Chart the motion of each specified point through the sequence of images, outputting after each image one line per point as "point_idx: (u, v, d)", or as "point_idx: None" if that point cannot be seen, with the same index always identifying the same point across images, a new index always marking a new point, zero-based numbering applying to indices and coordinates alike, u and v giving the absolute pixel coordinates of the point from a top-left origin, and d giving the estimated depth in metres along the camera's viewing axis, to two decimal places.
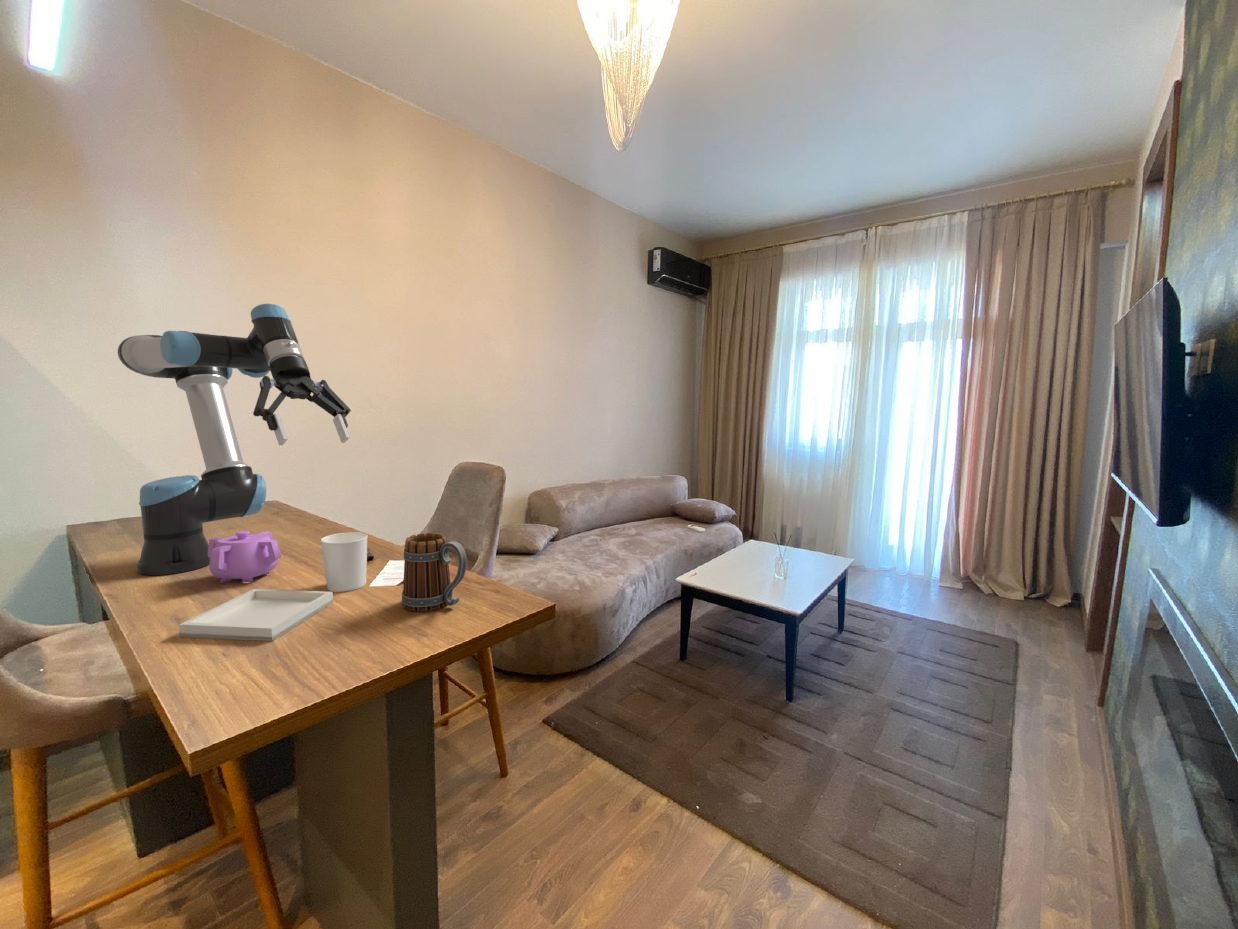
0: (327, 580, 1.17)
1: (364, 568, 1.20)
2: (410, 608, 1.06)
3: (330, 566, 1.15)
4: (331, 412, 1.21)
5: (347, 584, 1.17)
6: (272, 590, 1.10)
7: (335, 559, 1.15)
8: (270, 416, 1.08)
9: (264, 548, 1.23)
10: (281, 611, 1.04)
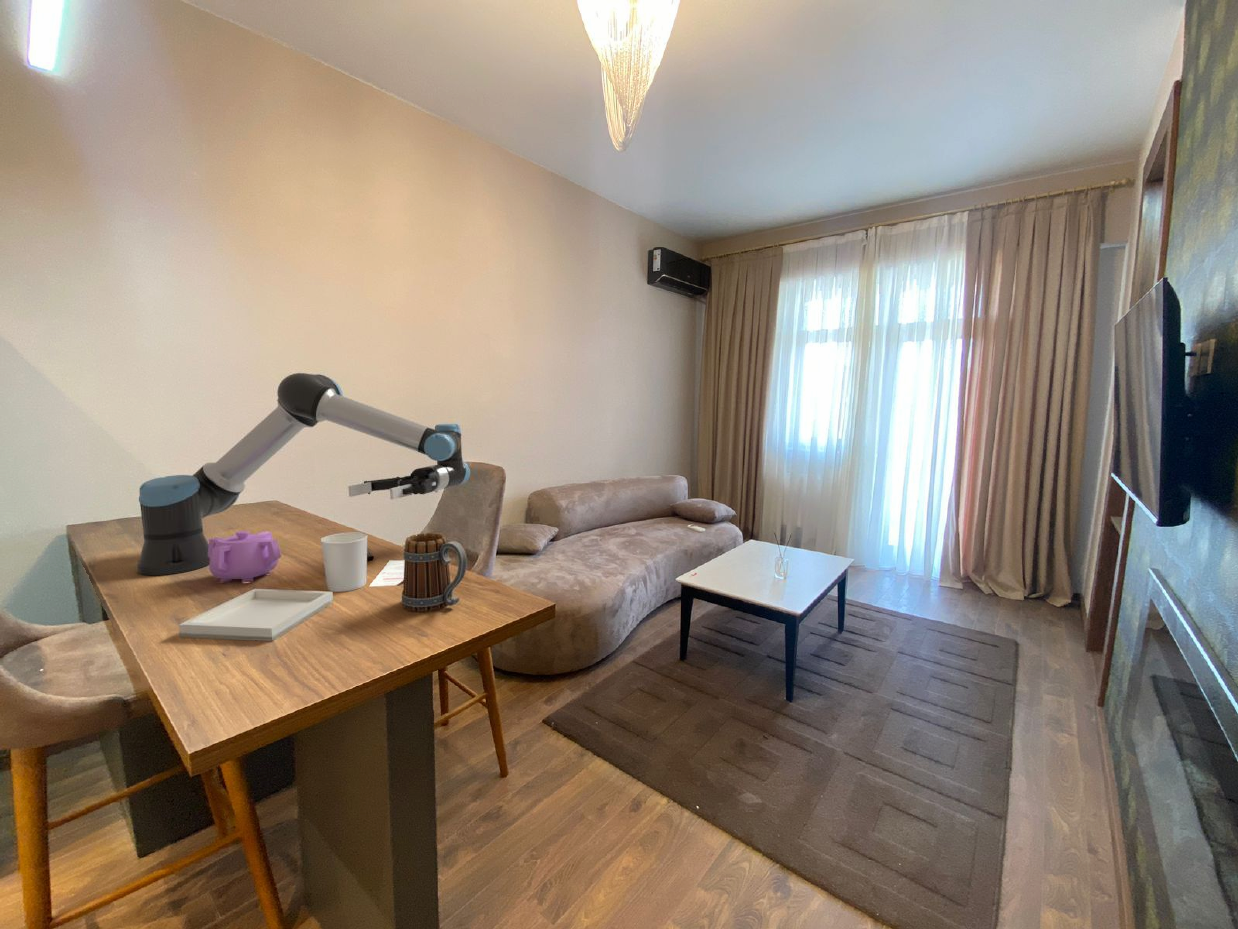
0: (327, 580, 1.17)
1: (364, 568, 1.20)
2: (410, 608, 1.06)
3: (330, 566, 1.15)
4: (376, 484, 1.35)
5: (347, 584, 1.17)
6: (272, 590, 1.10)
7: (335, 559, 1.15)
8: (412, 492, 1.29)
9: (264, 548, 1.23)
10: (281, 611, 1.04)
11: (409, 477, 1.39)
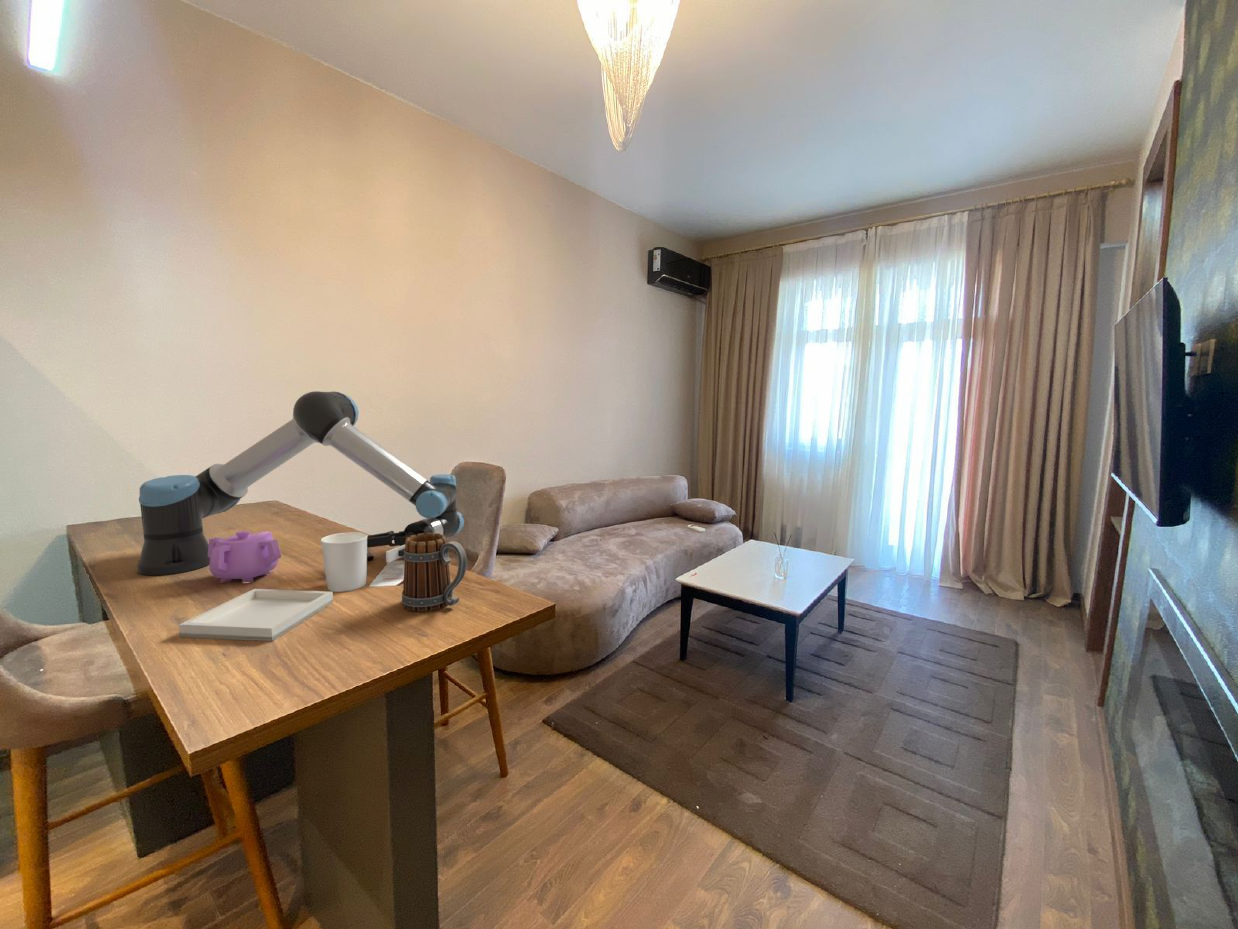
0: (327, 580, 1.17)
1: (364, 568, 1.20)
2: (410, 608, 1.06)
3: (330, 566, 1.15)
4: (370, 541, 1.34)
5: (347, 584, 1.17)
6: (272, 590, 1.10)
7: (335, 559, 1.15)
8: None
9: (264, 548, 1.23)
10: (281, 611, 1.04)
11: (404, 533, 1.38)
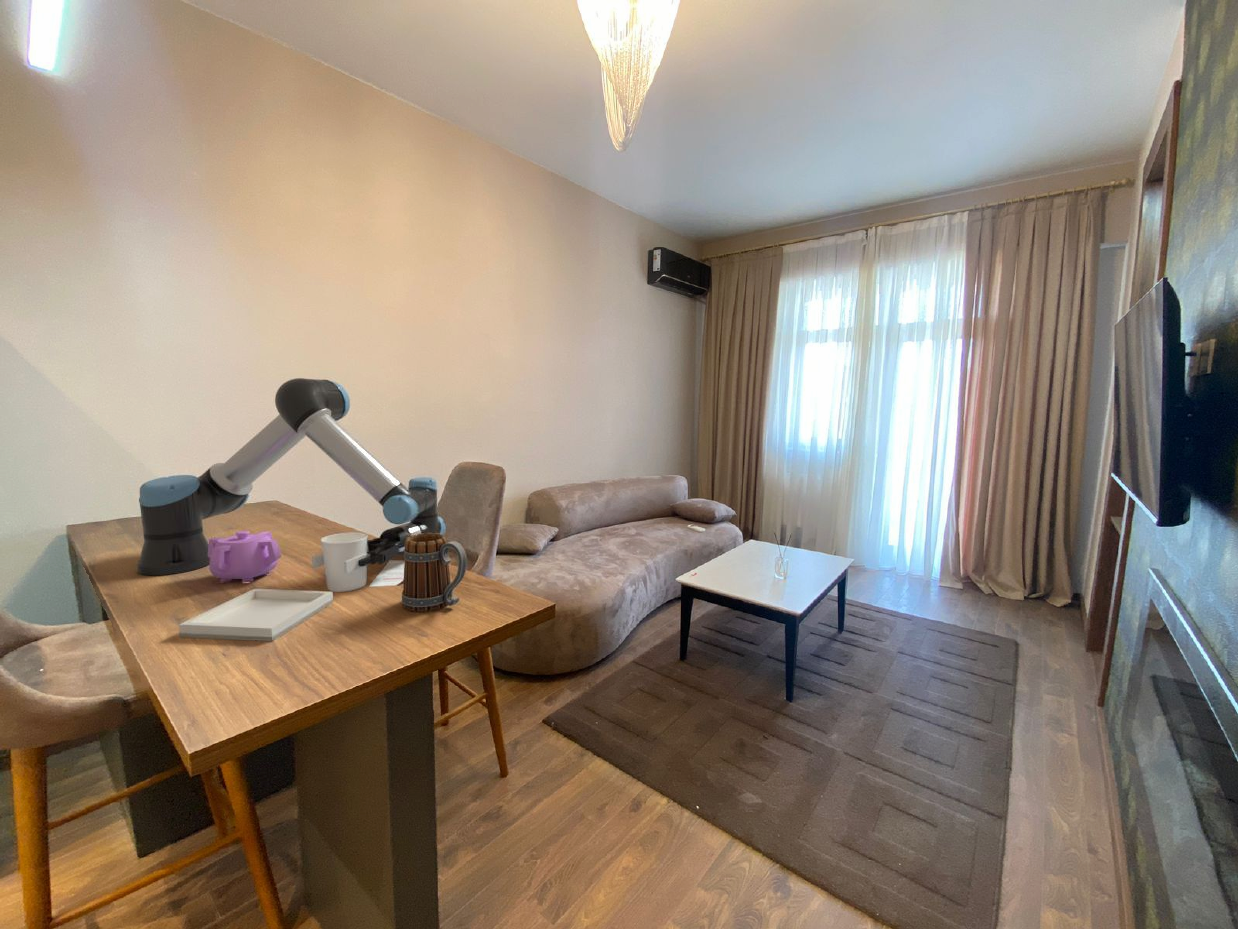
0: (327, 580, 1.17)
1: (364, 568, 1.20)
2: (410, 608, 1.06)
3: (330, 566, 1.15)
4: None
5: (347, 584, 1.17)
6: (272, 590, 1.10)
7: (335, 559, 1.15)
8: None
9: (264, 548, 1.23)
10: (281, 611, 1.04)
11: (379, 540, 1.30)
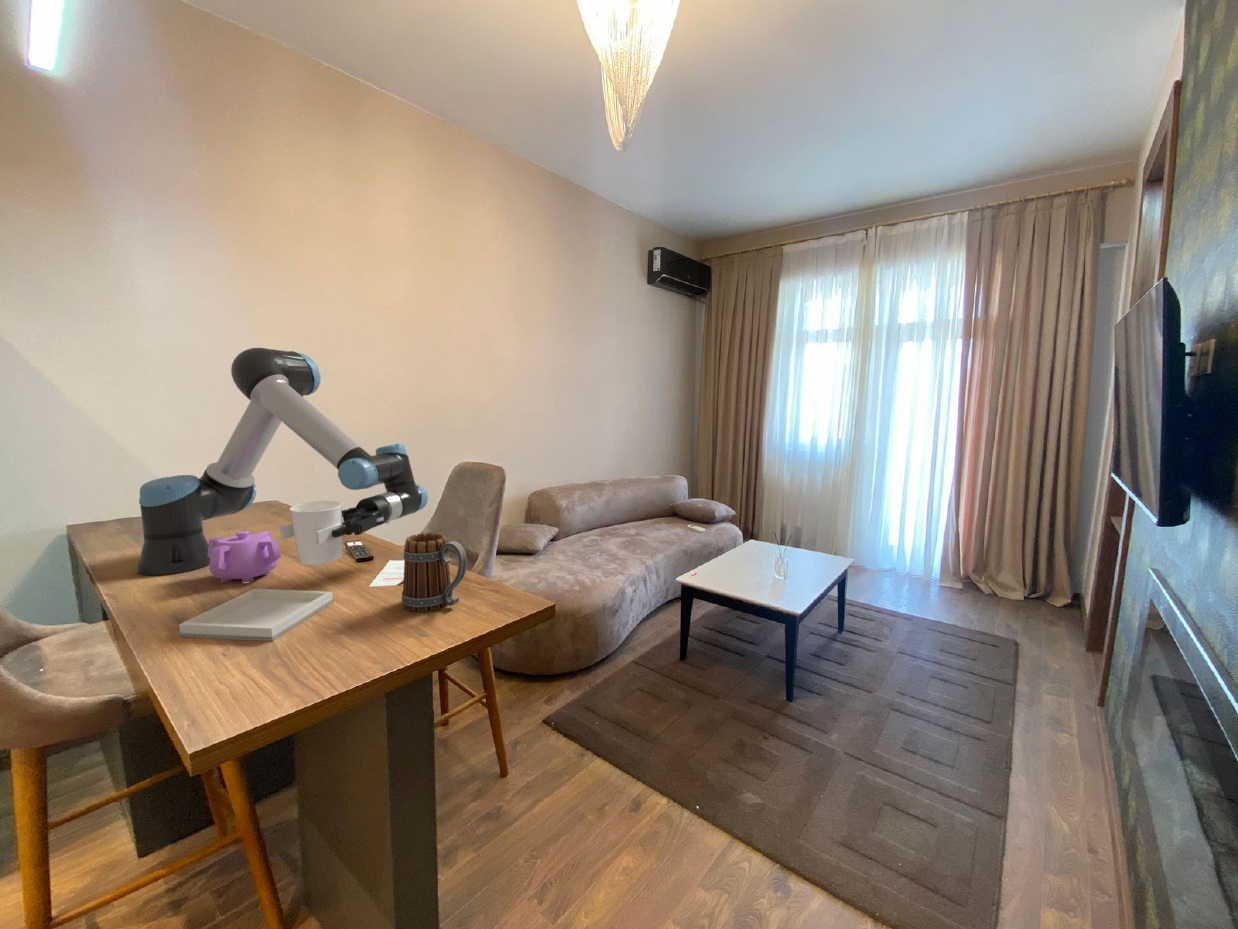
0: (298, 552, 1.07)
1: (339, 539, 1.11)
2: (410, 608, 1.06)
3: (301, 537, 1.06)
4: None
5: (320, 556, 1.07)
6: (272, 590, 1.10)
7: (306, 529, 1.05)
8: None
9: (264, 548, 1.23)
10: (281, 611, 1.04)
11: (355, 509, 1.21)
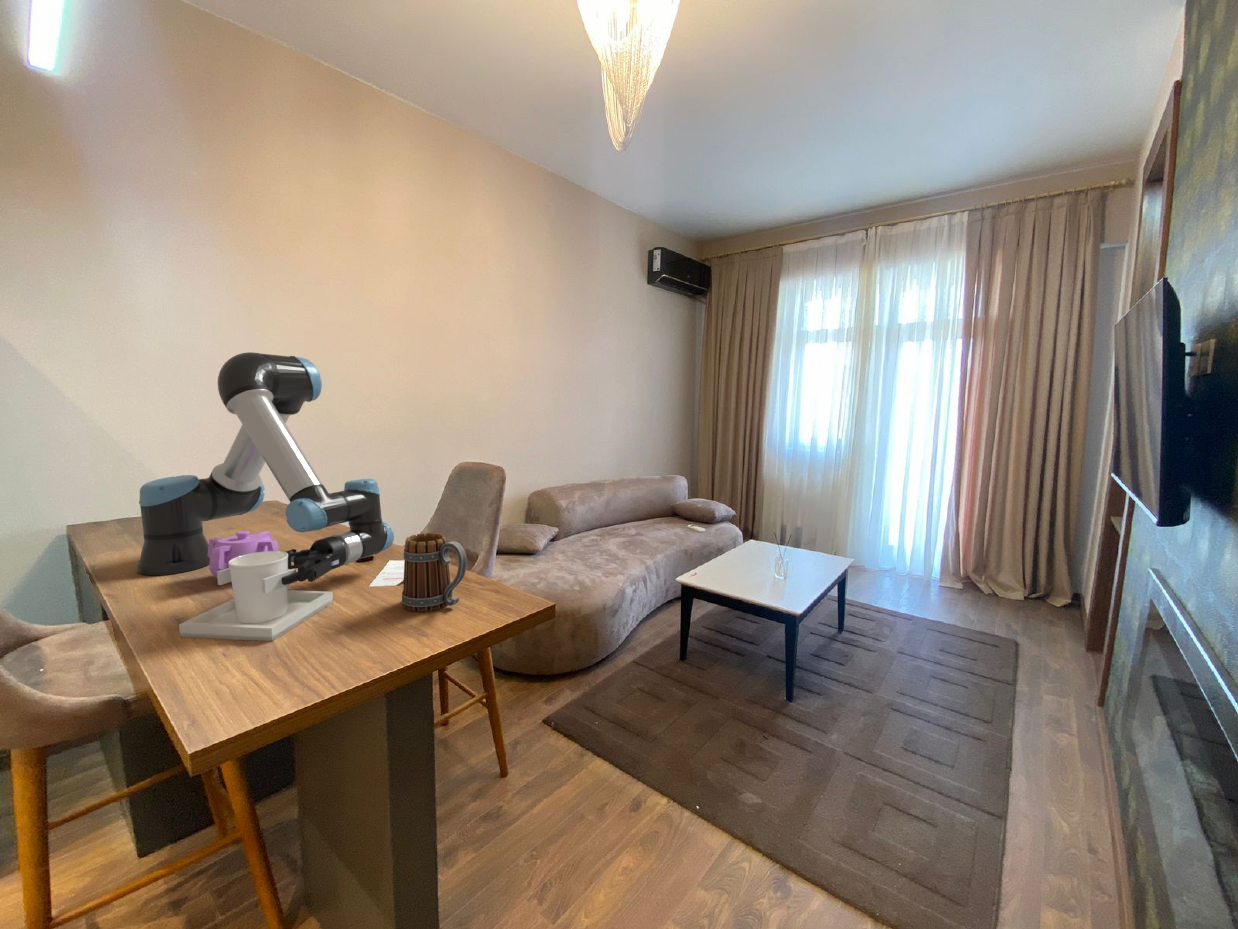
0: (236, 609, 0.98)
1: (283, 594, 1.01)
2: (410, 608, 1.06)
3: (239, 593, 0.96)
4: None
5: (260, 614, 0.98)
6: None
7: (244, 585, 0.96)
8: None
9: (264, 548, 1.23)
10: None
11: (307, 552, 1.11)
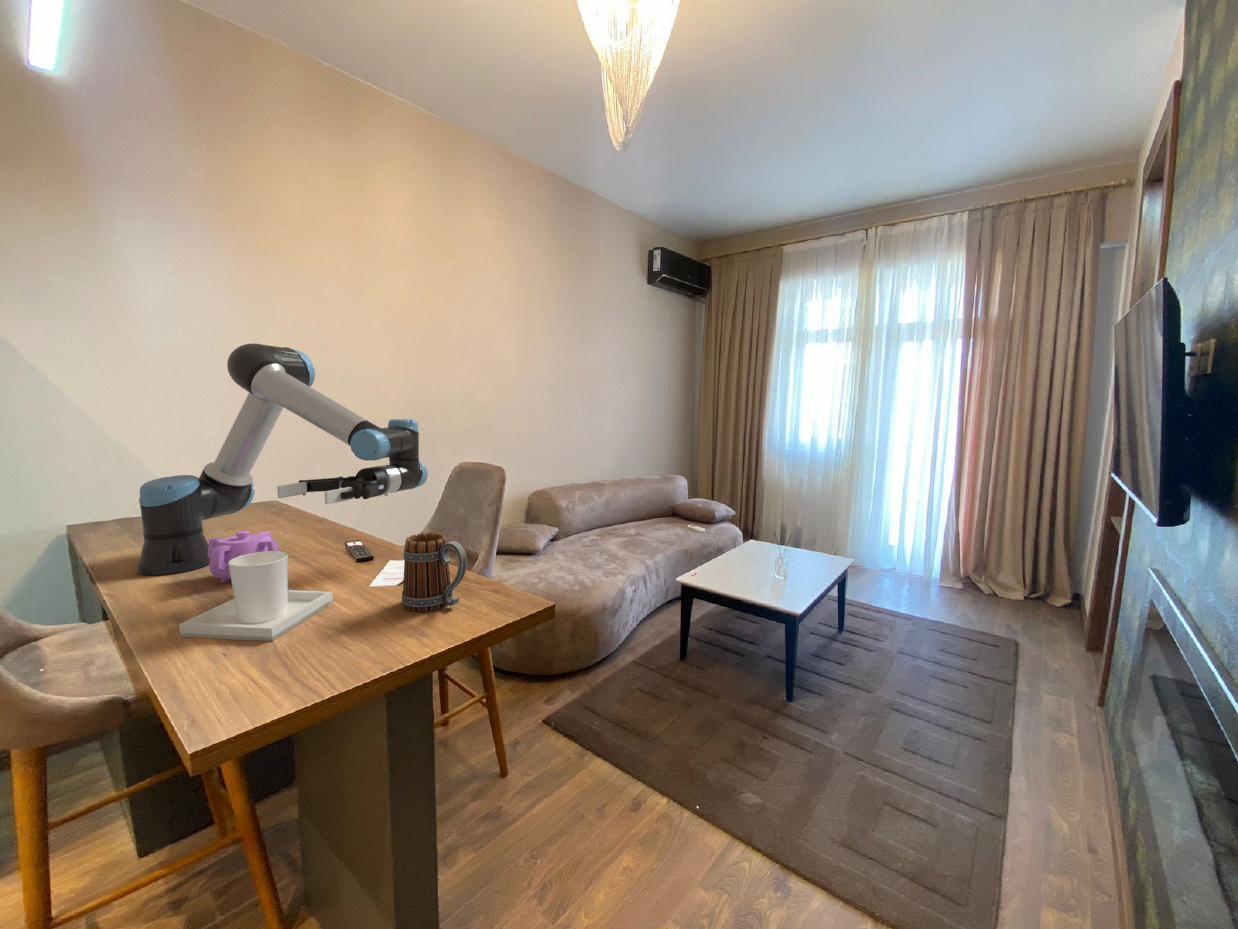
0: (236, 609, 0.98)
1: (283, 594, 1.01)
2: (410, 608, 1.06)
3: (238, 593, 0.96)
4: (313, 485, 1.18)
5: (260, 614, 0.98)
6: None
7: (244, 585, 0.96)
8: (353, 496, 1.11)
9: (264, 548, 1.23)
10: None
11: (353, 478, 1.22)
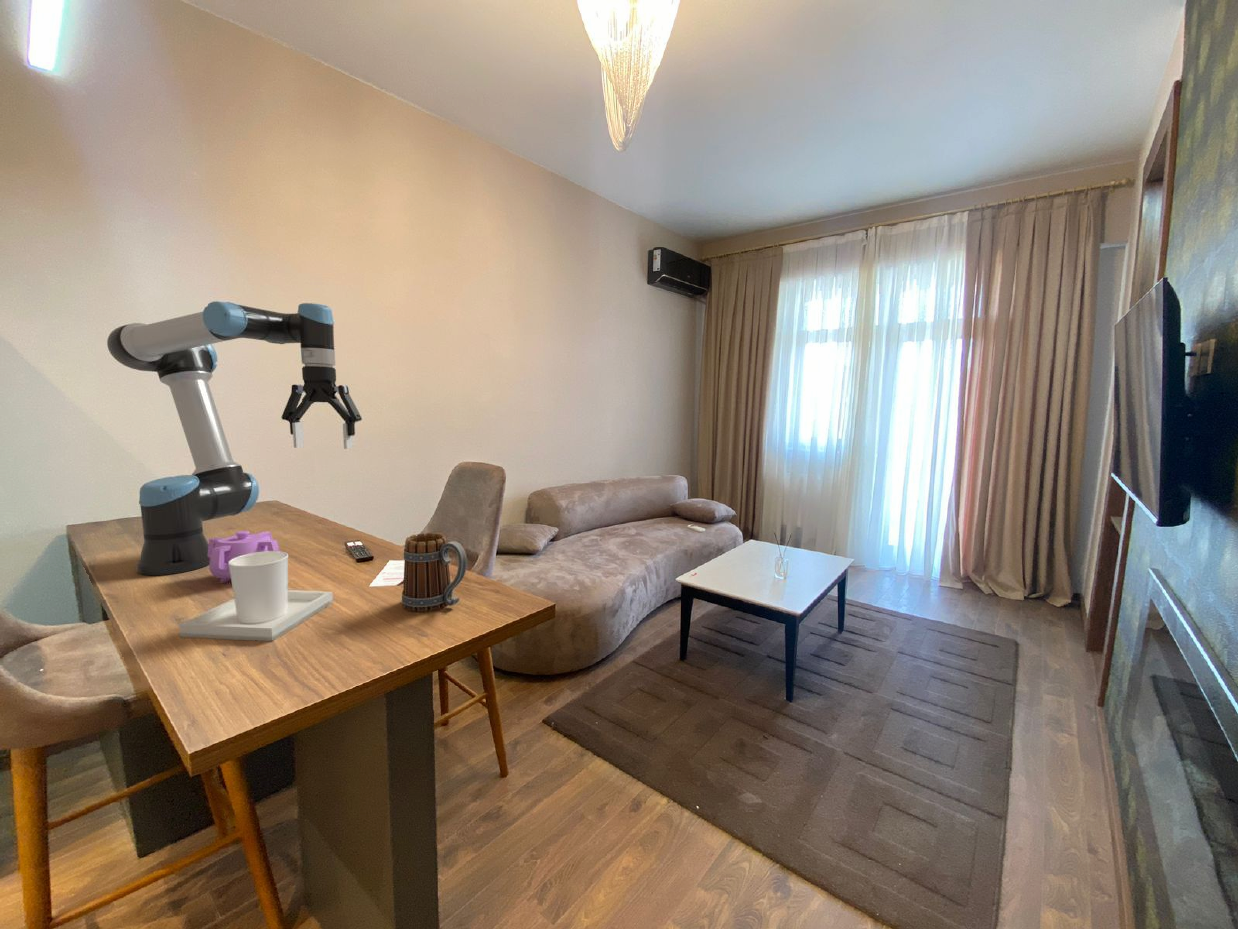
0: (236, 609, 0.98)
1: (283, 594, 1.01)
2: (410, 608, 1.06)
3: (238, 593, 0.96)
4: None
5: (260, 614, 0.98)
6: None
7: (244, 585, 0.96)
8: (291, 424, 1.31)
9: (264, 548, 1.23)
10: None
11: None
